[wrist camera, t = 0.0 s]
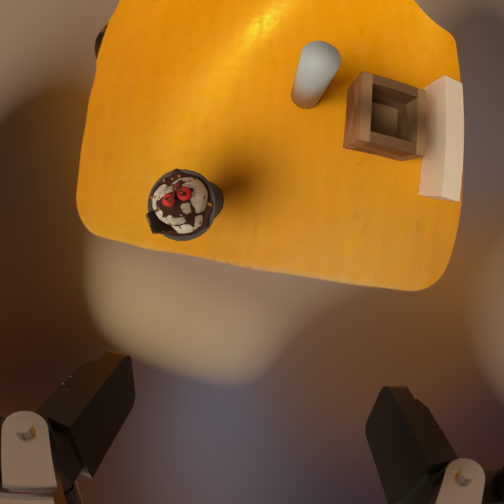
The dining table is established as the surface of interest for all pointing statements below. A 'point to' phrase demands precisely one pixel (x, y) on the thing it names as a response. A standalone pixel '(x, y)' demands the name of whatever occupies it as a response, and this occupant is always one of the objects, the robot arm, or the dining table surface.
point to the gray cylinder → (314, 73)
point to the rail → (443, 141)
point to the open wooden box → (385, 118)
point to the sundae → (183, 205)
